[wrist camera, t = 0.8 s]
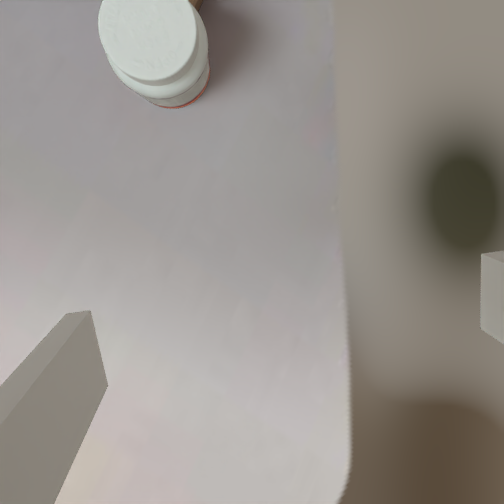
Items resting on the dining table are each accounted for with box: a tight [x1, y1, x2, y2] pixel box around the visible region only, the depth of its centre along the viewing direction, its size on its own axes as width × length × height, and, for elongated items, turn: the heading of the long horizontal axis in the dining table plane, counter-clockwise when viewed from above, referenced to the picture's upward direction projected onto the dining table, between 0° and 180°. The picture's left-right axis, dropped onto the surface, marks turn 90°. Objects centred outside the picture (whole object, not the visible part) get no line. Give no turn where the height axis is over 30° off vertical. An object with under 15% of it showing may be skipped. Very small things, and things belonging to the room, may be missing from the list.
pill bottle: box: [98, 0, 210, 109], centre depth 27 cm, size 6×6×11 cm
